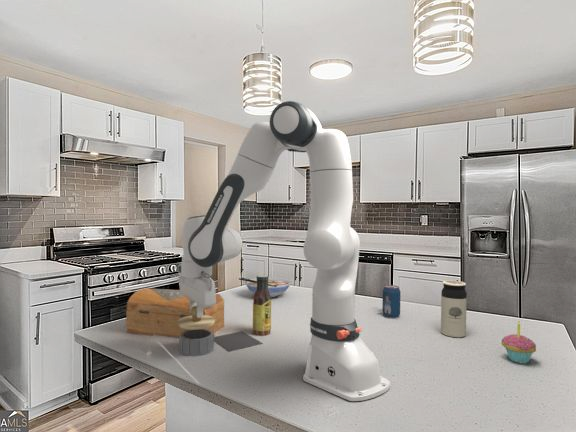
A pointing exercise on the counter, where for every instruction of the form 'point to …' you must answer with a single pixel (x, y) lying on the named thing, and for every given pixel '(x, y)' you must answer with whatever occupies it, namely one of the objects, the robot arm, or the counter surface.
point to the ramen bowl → (269, 285)
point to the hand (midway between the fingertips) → (196, 315)
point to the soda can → (391, 301)
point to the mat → (236, 341)
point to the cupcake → (518, 347)
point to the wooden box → (165, 312)
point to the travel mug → (453, 309)
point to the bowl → (196, 342)
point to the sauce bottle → (262, 307)
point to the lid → (196, 321)
